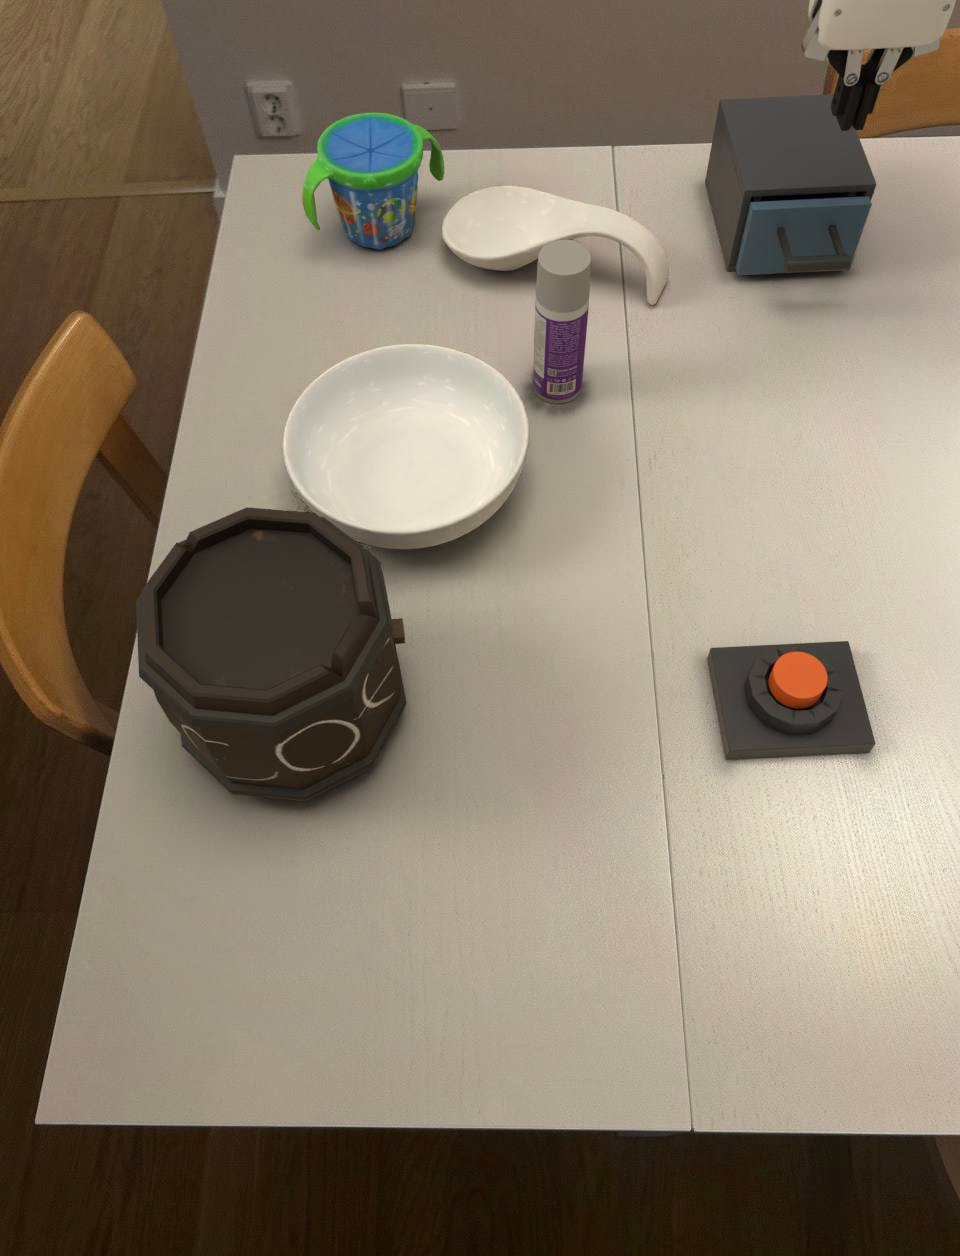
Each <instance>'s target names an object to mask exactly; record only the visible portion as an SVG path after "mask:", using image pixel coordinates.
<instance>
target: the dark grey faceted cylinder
mask: <svg viewBox="0 0 960 1256" xmlns="http://www.w3.org/2000/svg"><path fill="white" fill-rule="evenodd" d="M388 597H389V596H388V592H387V587H386V582H385V575H384V572H383V565H382V563H381V561H380V560H379V559H378V557H376V556H375V555H373V554H372V553H371V552H369V550H367V549H366V548H365V547H364V546H362V545H361V544H360V543H358V541H356V540H354V539H351V538H350V537H349V536H348V535H346V534H345V533H344V532H342V531H341V530H340V529H339V528H337V527H336V526H335V525H333V524H332V523H331V522H329V521H328V520H327V519H326V518H324V517H320V516H318V515H317V514H316V513H314V512H313V511H312V512H311V511H299V510H283V509H271V508H261V507H260V508H259V507H244V508H242V509H240V510H238V511H235V512H232V513H230V514H228V515H226V516H223V517H221V518H219V519H217V520H215V521H211V522H210V523H207V524H205V525H203V526H201V527H198V528H196V529H194V530H191V531H189V533H188V535H187V537H186V539H183V540H182V541H180V542H176V543H174V545H173V547H172V548H171V549H170V550H169V552H168V553H167V555H165V557H164V559H163V560H162V561H161V563H160V564H159V566H158V567H157V568H156V569H155V570H154V573H153V574H152V575H151V576H150V578H149V579H148V581H147V582H146V583H145V584H144V586H143V587H142V588H141V594H140V595H139V597H138V598H137V600H136V601H135V610H136V611H135V613H136V614H135V615H136V633H137V634H136V635H137V639H136V640H137V659H138V660H137V661H138V663H137V664H138V678H140V679H141V680H142V681H143V682H144V683H145V684H147V685H148V687H149V688H150V689H151V690H153V693H154V696H155V699H156V701H157V703H158V705H159V706H160V708H161V710H162V711H163V713H164V715H165V716H166V718H167V719H168V721H169V723H170V724H171V725H172V726H173V727H174V728H175V729H176V730H177V731H178V732H179V734H180V741H181V743H180V744H181V747H182V748H183V749H184V750H185V751H186V752H187V753H188V754H189V755H190V756H191V757H192V758H193V759H195V760H196V761H197V762H198V763H199V764H200V765H201V766H202V767H203V768H204V769H205V770H206V771H208V773H209V774H210V775H212V777H213V778H214V779H216V781H217V782H218V783H220V784H221V786H222V787H224V789H226V790H227V791H228V792H229V793H231V794H233V795H239V796H249V797H257V798H258V797H260V798H270V799H279V800H281V799H282V800H289V801H300V802H307V801H309V800H312V799H313V798H316V797H317V796H319V795H321V794H323V793H325V792H327V791H328V790H329V791H330V790H331V789H333V788H335V787H336V786H339V785H340V784H343V783H344V782H346V781H348V780H350V779H352V778H354V777H356V776H358V775H360V774H361V773H364V772H366V771H368V770H369V769H371V768H373V766H374V765H375V763H376V761H377V759H378V757H379V755H380V754H381V752H382V750H383V748H384V746H385V745H386V743H387V741H388V740H389V737H390V736H391V734H392V732H393V730H394V728H395V726H396V725H397V723H398V721H399V719H400V718H401V716H402V713H403V711H404V709H405V708H406V706H407V698H406V693H405V687H404V683H403V682H404V681H403V676H402V671H401V667H400V661H399V660H400V659H399V657H398V650H397V645H402V644H403V645H405V644H406V635H405V626H404V625H405V624H404V619H403V617H401V618H392V613H391V607H390V602H389V599H388Z"/></svg>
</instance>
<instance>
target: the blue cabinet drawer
mask: <svg viewBox="0 0 960 1256" xmlns="http://www.w3.org/2000/svg"><path fill="white" fill-rule="evenodd" d="M856 194H857V192H841V193H820V194H799V195H779V196H758V197H751V201H750V205H749V210H748V214H747V219H746V223H745V228H744V232H743V236H742V241H741V245H740V250H739V255H738V259H737V264H736V271H735V272H736V275H737V276H752V275H753V276H756V275H774V274H793V273H794V274H795V273H814V272H815V273H816V272H835V271H838V272H839V271H850V270H851V266H852V264H853V261H854V258H855V255H856V252H857V250H858V249H857V248H858V246H859V244H860V240H861V237H862V235H863V231H864V228H865V226H866V223H867V219H868V217H869V213H870V211H871V208H872V199H871V200H870V198H869V196H866V197H856Z"/></svg>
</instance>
